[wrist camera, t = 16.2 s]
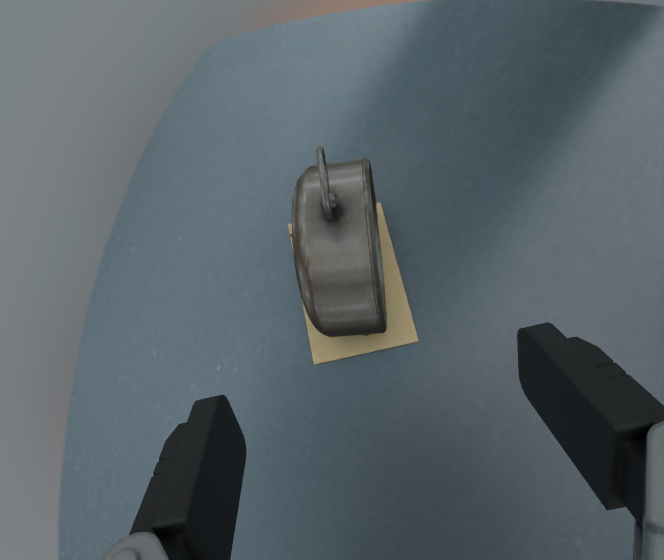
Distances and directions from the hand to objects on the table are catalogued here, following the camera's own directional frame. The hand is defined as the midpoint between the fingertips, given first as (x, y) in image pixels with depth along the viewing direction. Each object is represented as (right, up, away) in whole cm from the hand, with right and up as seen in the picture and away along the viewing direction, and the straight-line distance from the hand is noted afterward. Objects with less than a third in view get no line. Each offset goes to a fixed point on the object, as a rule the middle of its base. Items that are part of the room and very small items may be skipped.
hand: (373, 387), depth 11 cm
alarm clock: (0, +3, +22) cm, 22 cm away
